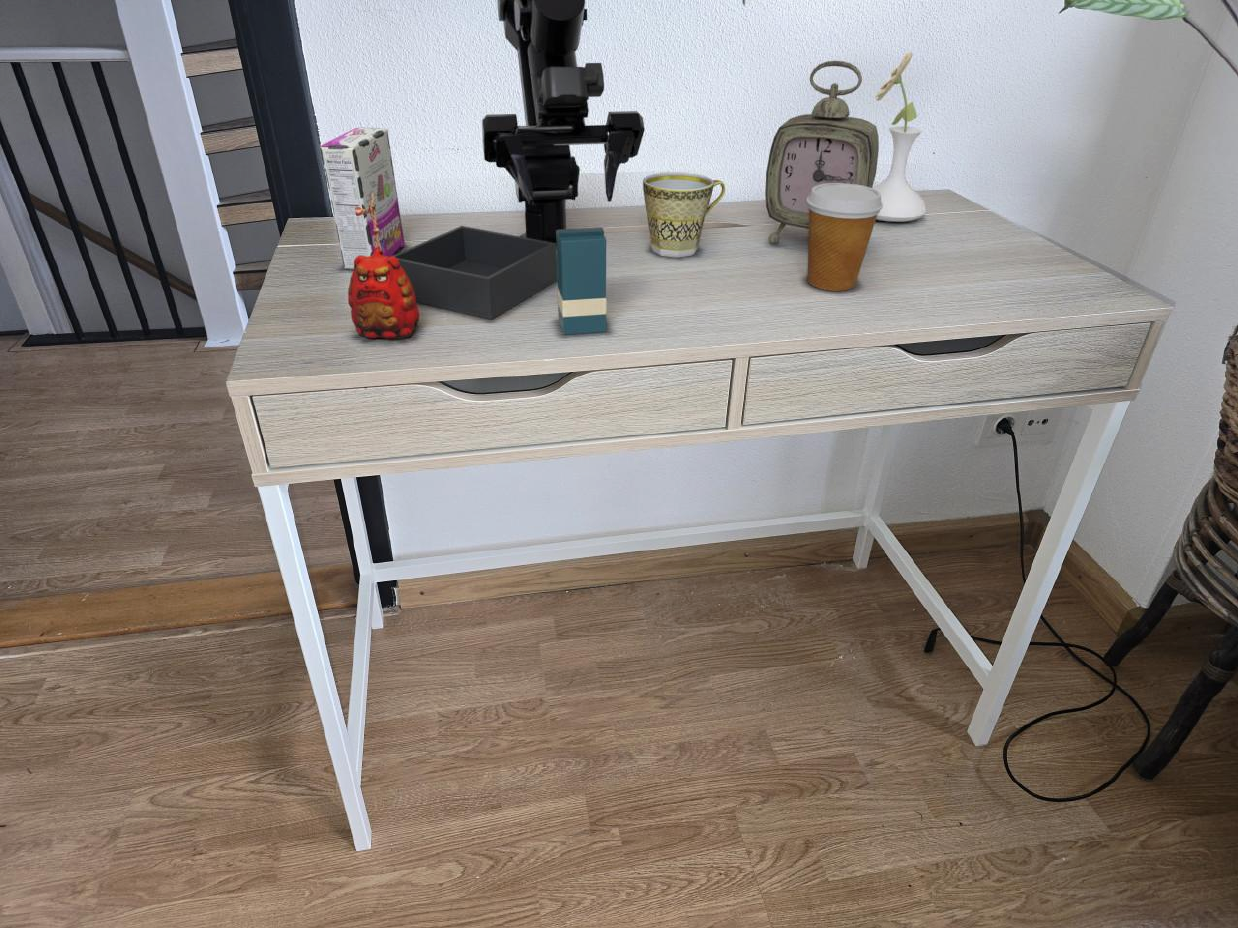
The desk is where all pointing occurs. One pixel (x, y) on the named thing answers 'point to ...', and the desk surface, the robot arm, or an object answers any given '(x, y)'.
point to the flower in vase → (900, 161)
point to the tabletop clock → (818, 154)
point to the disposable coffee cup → (839, 232)
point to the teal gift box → (581, 280)
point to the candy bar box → (363, 192)
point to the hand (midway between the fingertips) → (571, 201)
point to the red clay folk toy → (381, 293)
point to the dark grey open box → (478, 270)
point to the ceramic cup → (677, 210)
